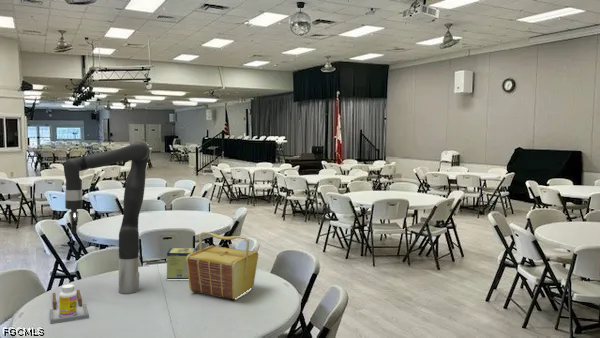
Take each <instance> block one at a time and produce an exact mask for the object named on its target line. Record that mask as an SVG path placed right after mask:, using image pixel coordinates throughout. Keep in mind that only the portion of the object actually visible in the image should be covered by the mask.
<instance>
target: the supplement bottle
mask: <svg viewBox="0 0 600 338" xmlns="http://www.w3.org/2000/svg"><path fill="white" fill-rule="evenodd" d="M61 289H62V291H61V292H59V297H58V299H59V300H58V301H59V303H58V304H59V312H58V313H59V317H60V318H62V317H69V316H76V315H77V311H78V310H77V306H78V304H77V303H78V301H77V290H74V289H75V285H74V284H71V283H70V284H68V283H67V284H64V285H62V286H61Z"/></svg>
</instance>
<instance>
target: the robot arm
mask: <svg viewBox="0 0 600 338" xmlns="http://www.w3.org/2000/svg"><path fill="white" fill-rule="evenodd" d="M150 154H151V149H150V147H149V145H148V144H147V143H146V142H143V141H135V142H134V143H131V144H128V145H127V146H124V147H120V148H117V149H112V150H105V151H101V152H96V153H91V154H88V155H85V156H78V157H74V158H73V157H72V158H68V159H67V160H66V161H65V162H64V163H63V164H64V165H63V173H64V177H65V178H64V179H65V193H64V195H65V196H64V197H65V200H64V202H65V204H64V205H65V210H70V211H69V213H68V215H69V222H70V227H71V228H70V229H71V233H70V234H72V235H77V233H78V231H77V230H78V229H77V228H78V223H79V215H80V213H79V211H78V210H81V209H82V208H83V186H82V185H83V181H82V179H81V176H80V172H82V171H86V170H89V169H90V170H92V169H93V170H94V169H98V168H102V167H106V166H110V165H112V164H116V163H120V162H121V163H122V162H128V161H131V166H130V170H129V173H128V176H127V178H126V181H125V187H124V194H123V216H122V222H121V225H120V228H119V233H118V292H119V293H120V294H124V295H125V294H134V293H136V292H137V293H138V292H140V272H139V252H140V249H139V248H140V247H139V246H140V235H139V234H140V233H139V217H140V212H141V209H142V205H143V201H144V196H145V185H146V174H147V173H146V170H147V166H148V163H149V162H148V161H149V158H150Z"/></svg>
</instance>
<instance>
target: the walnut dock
mask: <svg viewBox="0 0 600 338" xmlns="http://www.w3.org/2000/svg"><path fill="white" fill-rule="evenodd" d="M76 293H77V303H78V304H77V306H78V307H83V305H82V304H83V298H82V295H81V291H80V289H76ZM56 295H57V294H56V292H53V293H52V309H53V311H57V307H58V306H57V296H56Z"/></svg>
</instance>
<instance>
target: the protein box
mask: <svg viewBox="0 0 600 338" xmlns="http://www.w3.org/2000/svg"><path fill="white" fill-rule="evenodd" d="M196 251H198V248H197V247H196V248H194V247H189V248H186V247H183V248H181V247H180V248H178V247H177V248H175V247H174V248H173V247H172V248H171V247H170V248H169V250H168V251H167V253H166V280H167V279H188V272H187V265H186V257H187V256H188V255H189V254H190V253H193V252H196Z"/></svg>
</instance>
